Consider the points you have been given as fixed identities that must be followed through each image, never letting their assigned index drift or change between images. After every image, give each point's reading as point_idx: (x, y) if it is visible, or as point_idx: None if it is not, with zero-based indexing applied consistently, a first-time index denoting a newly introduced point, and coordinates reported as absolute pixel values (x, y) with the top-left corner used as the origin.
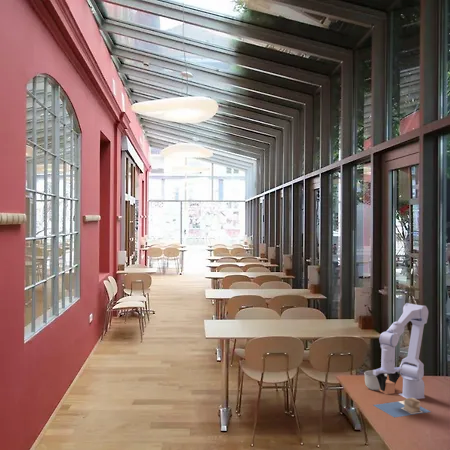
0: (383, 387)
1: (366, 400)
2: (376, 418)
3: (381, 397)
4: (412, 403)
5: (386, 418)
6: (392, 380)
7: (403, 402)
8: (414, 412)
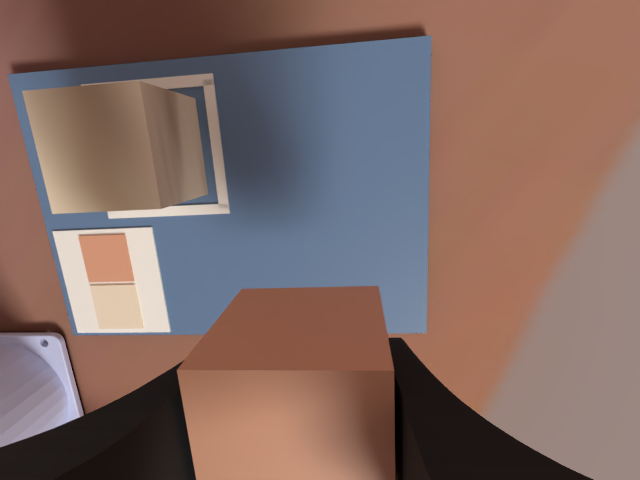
0: (421, 362)
1: None
2: (592, 92)
3: None
4: (139, 84)
5: (495, 68)
6: (169, 460)
7: (139, 303)
8: None
